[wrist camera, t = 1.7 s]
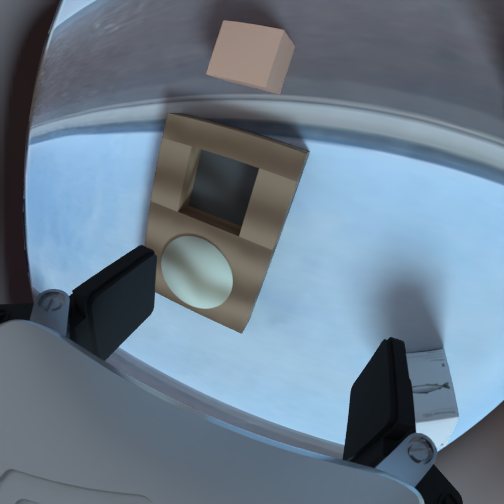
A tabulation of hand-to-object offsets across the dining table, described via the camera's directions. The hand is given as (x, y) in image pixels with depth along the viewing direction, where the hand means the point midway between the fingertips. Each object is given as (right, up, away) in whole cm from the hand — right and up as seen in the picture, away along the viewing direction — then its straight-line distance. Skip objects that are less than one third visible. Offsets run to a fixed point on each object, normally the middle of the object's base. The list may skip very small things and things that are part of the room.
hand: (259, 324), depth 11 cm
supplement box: (+24, -14, +25) cm, 38 cm away
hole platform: (-5, +6, +26) cm, 27 cm away
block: (+1, +23, +17) cm, 29 cm away
